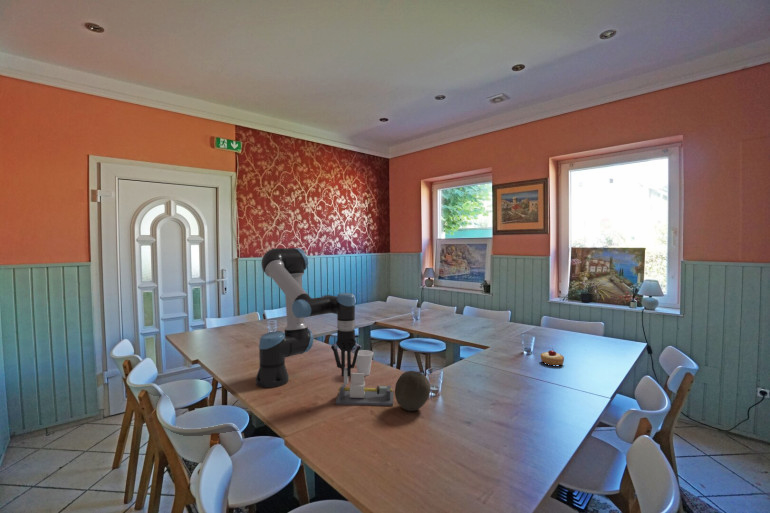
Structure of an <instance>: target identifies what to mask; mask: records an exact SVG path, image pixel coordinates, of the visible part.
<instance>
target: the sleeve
mask: <svg viewBox="0 0 770 513" xmlns="http://www.w3.org/2000/svg"><path fill="white" fill-rule="evenodd" d="M349 388H350V397H352V398H364V395H365V391H364V388H366V381H365V376H364V373H358V372H351V375H350V384H349Z"/></svg>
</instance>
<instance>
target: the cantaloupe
mask: <svg viewBox="0 0 770 513" xmlns="http://www.w3.org/2000/svg"><path fill="white" fill-rule="evenodd" d="M430 394H431V384H430V381H429V380H428V378H427V377H426V375H424V374H423V373H422V372H419V371H416V370H408V371H404V372H403V373H401V375H400V376H399V377H398V378H397V381H396V383H395V387H394V396H395V399H396V401H397V404H398V405H399V406H400V407H401V408H402V409H403V410H405V411H407V412H414V411H417V410H420V408H423V406H424V405H425V404H426V403H427V401H428V399H429V397H430Z"/></svg>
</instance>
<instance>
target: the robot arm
mask: <svg viewBox="0 0 770 513" xmlns="http://www.w3.org/2000/svg"><path fill="white" fill-rule="evenodd" d="M308 266H309V259H308V255H307V253H306V252H305V251H304V250H303V249H302V248H297V247H290V248H289V247H288V248H287V247H286V248H285V247H284V248H279V247H277V248H276V247H275V248H271V249H269V250H268V251H266V252H265V253H264V255H263V256H262V257H261V268H262V271H263V273H264V274H265V275H266V276H267V277H269V278H270V279H272V280H273V281H274V282H275V284H276V285H277V286H278V287H279V289H280V290H281V291H282V293H284V295H285V296H284V297H285V312H286V326H285V327H284V329H283V330H284V331H281V330H276V331H269V332H266V333H264V334H263V335H261V337H259V345H258V350H259V352H258V354H259V355H258V356H259V366H258V367H259V368H258V371H257V375H256V377H255V386H257V387H259V388H264V389H265V388H276V387H280V386H283V385H285V384H287V383H288V382H289V373H288V371H287V366H286V363H285V362H286V358H289V357H293V356H298V355H302V354H304V353H307V352H309V351H310V350H311V349H312V347H313V344H314V334H313V333H312V330H311V329H309V325H307V324H306V323H305V319H306V318H309V317H310V318H311V317H314V316H315V317H316V316H321V315H328V314H334V315H336V319H337V320H336V321H337V322H336V324H337V325H336V326H337V327H336V328H337V331H336V332H337V333H336V335H337V338H336V341H335V343H334V344H332V345H331V346H330V348H331V349H332V352H333V355H334V359H335V364H336V367H337V368H338V369H341V377H343V385H346V386H347V385H348V384H349V377H351V373H352V369H354V368H355V366H356V359H357V355H358V351H359V350H361V348H362V346H361V344H358V343H357V341H356V334H355V332H356V330H355V327H356V317H355V316H356V314H355V313H356V310H355V309H356V307H355V306H356V300H355V298H356V297H355V295H354V294H353V293H351V292H350V293H349V292H342V293H338V294H337V296H336V295H335V296H334V295H331V294H329V295H328V294H325V295H322V296H319V297H311V296H310V295H309V294H308V293H307V292H306V291H305V289H304V288H303V280H302V277H303V276H304V274H305V271H306V270H307V269H308ZM353 348H354V350H355V351H354V353H355V354H354V355H353V358H352V350H353ZM338 349H340V355H339V351H338ZM346 355H347V356H346ZM340 357H341V358H340ZM346 358H347V359H346ZM352 359H353V360H352ZM346 360H347V363H346Z"/></svg>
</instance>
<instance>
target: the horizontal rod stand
mask: <svg viewBox="0 0 770 513" xmlns="http://www.w3.org/2000/svg"><path fill="white" fill-rule="evenodd" d="M346 386H347V385H344V383H343V384H341V386H340V387H338V391H339V393H338V394H337V397H336V401H335V403H334V404H335V405H350V406H351V405H353V406H380V407H381V406H383V407H385V406H387V407H393V406H394V396H395V390H394V391H393V388H392V386H391V385H377V386H376V387H365V388H364V391H365V395H364V398H352V397H350V387H349V386H348V387H346Z"/></svg>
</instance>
